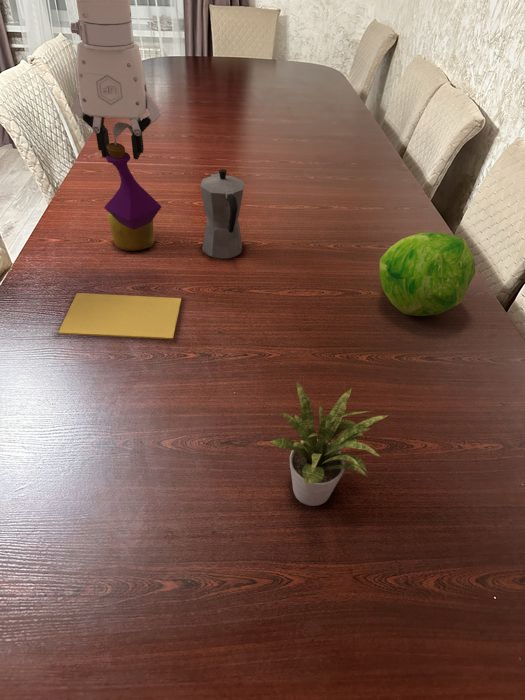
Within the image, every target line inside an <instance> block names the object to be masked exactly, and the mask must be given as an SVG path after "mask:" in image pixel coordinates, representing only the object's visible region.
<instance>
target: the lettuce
mask: <svg viewBox="0 0 525 700" xmlns="http://www.w3.org/2000/svg"><path fill="white" fill-rule="evenodd" d="M475 264H476V263H475V256H474V255H473V254H472V251H471V250H470V247H469V245H468V243H467V241H466V239H465V238H462V237H459V236H456V235H452V234H449V233H445V232H419V233H415V234H412V235H409V236H407V237H404V238H401V239H400V240H398V241H397V242H396V243H394V244H393V245H391V246H390V247H389V248H388V249H387V250H386V251H385V253H384V254H383V255H382V256H381V257H380V258H379V279H380V284H381V287H382V290H383V291H382V292H383V293H384V294H385V296H386V297H387V299H388V300H389V302H390V303H391V305H392V306H394V307H395V308H396V309H397V310H398V311H399V312H400V313H401V314H402V315H405V316H415V317H426V316H436V315H441V314H442V313H445V312H447V311H448V310H450V309H452V308H454V307H457V306H458V305H460V304H461V302H462V301H463V299H464V297H465V295H466V293H467V291H468V288H469V287H470V285H471V283H472V280H473V278H474V276H475V274H476V265H475Z"/></svg>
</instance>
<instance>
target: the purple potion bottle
mask: <svg viewBox="0 0 525 700" xmlns="http://www.w3.org/2000/svg"><path fill="white" fill-rule="evenodd" d="M126 129H128V130H129V131H130V133H131V135H132V134H133V129H132V126H131V124H128V123H127V122H123V121H118V122H116V123H115V124H114V126H113V130H112V133H113V136H114V142H109V144H108V145H107V146H106V147H107V149H108V151H109V154H107V156H106V158H105V160H106V161H107V163H109V164H112V165H113V166H114V167H115V169H116V170H117V172H118V174H119V177H120V184H119V188H118V189H117V190H116V192H115V193H114V195H113V196H112V197H111V199H110V200H109V201H108V202H107V203H106V204H105V206H104V209H105V210H106V211H107V213H108V212H109V213H110V214H111V215H112V216H113V217H114V218H115V219H116V220H117V221H118V222H119V223H121V224H123V225H125V226H126V227H128V228H130V229H132V230H136V229H138V228H140V227H142V226H144V225H146V224H149V223H151V221H152V220H153V221H154V219H155V217H156V216H157V214H158V213H159V212H160V210H161V209H162V205H161V204H160V203H159V202H158V201H157V200H156V199H155V198H154V197H153V196H152V195H150V194H149V192H147V191H146V190H145V189H144V188H143V187H142V185H140V184H139V183H138V182H137V180H136V179H135V177H134V175H133V174H132V172H131V170H130V168H129V165H128V162H129V161H130V160H131V155H130V154H129V152H126V147H125V146H124V145H123V144H122V143H119V142H117V139H118V138H119V136H120V135H121V134H122V133H123V132H124V131H125V130H126Z"/></svg>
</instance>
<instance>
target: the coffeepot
mask: <svg viewBox="0 0 525 700" xmlns="http://www.w3.org/2000/svg"><path fill="white" fill-rule="evenodd" d="M227 172H228V171H227V169H225V168H224V169H223V168H220V169H219V170H218V172H215V173H213V172H211V173H210V176H208V177H204V178H202V180H201V183H200V185H199V186H200V187H199V188H200V193H201V200H202V204H203V211H204V216H206V222H205V229H204V235H203V240H202V248H201V250H202V252H203V253H204V254H206V256H209V257H211V258H214V259H219V260H220V259H221V260H227V259H228V260H229V259H232V258H235V257H237V256H238V255H240V254H242V249H243V241H242V240H243V239H242V234H241V233H242V232H241V225H240V221H239V217H240V211H241V205H242V201H243V200H242V199H243V195H244V190H245V184H246V181H243V180H242V179H240V178H238V177H236V176H235V175H227Z"/></svg>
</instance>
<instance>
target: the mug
mask: <svg viewBox="0 0 525 700" xmlns="http://www.w3.org/2000/svg"><path fill="white" fill-rule="evenodd" d="M107 217H108V218H107V219H108V222H109V228H110V231H111V235H112V238H113V243H114V244H115V246H116V247H117V248H118V249H119V250H123V251H126V252H137V251H140V250H141V251H143V250H146V249H149V248H152V246H153V245H154V243H155V232H154V219H153V220H152V221H151V223H149V224H146V225H144V226H142V227H140V228H138V229H136V230H132V229H130V228H128V227H126V226H125V225H123V224H121V223H119V222H118V221H117V220H116V219H115V218H114V217H113V216H112V215H111V214H110V213H109V212H108V211H107Z"/></svg>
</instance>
